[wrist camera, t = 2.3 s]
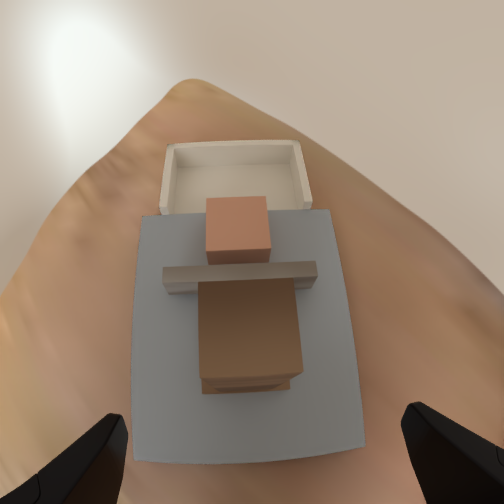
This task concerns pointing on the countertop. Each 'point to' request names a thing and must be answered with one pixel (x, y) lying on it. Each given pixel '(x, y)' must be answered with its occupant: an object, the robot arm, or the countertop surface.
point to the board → (241, 404)
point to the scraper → (245, 322)
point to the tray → (234, 174)
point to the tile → (237, 230)
